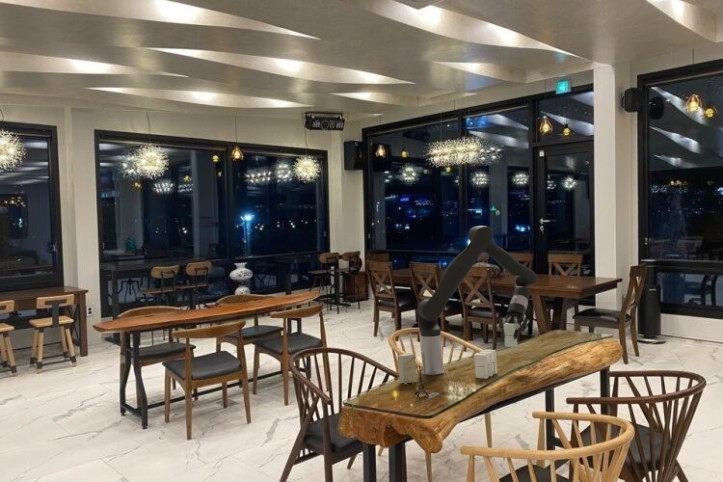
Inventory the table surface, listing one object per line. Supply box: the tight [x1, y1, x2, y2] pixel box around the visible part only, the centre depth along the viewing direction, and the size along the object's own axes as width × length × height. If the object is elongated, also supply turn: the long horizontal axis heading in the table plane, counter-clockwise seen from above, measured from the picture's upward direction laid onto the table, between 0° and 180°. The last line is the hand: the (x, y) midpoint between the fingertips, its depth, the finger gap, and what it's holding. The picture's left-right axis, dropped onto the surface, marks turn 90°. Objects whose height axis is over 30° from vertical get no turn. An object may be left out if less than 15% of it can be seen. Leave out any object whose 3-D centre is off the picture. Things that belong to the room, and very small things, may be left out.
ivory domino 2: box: [478, 351, 494, 377], centre depth 245 cm, size 2×5×10 cm, turn 52°
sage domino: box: [503, 322, 518, 348], centre depth 250 cm, size 2×5×10 cm, turn 52°
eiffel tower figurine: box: [413, 362, 440, 403], centre depth 220 cm, size 15×10×13 cm
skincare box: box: [397, 352, 418, 385], centre depth 242 cm, size 6×4×12 cm
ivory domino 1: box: [473, 353, 490, 379], centre depth 241 cm, size 2×5×10 cm, turn 52°
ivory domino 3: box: [483, 349, 498, 375], centre depth 248 cm, size 2×5×10 cm, turn 52°
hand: (508, 337), depth 249 cm, fingers closed on sage domino, 5 cm apart
